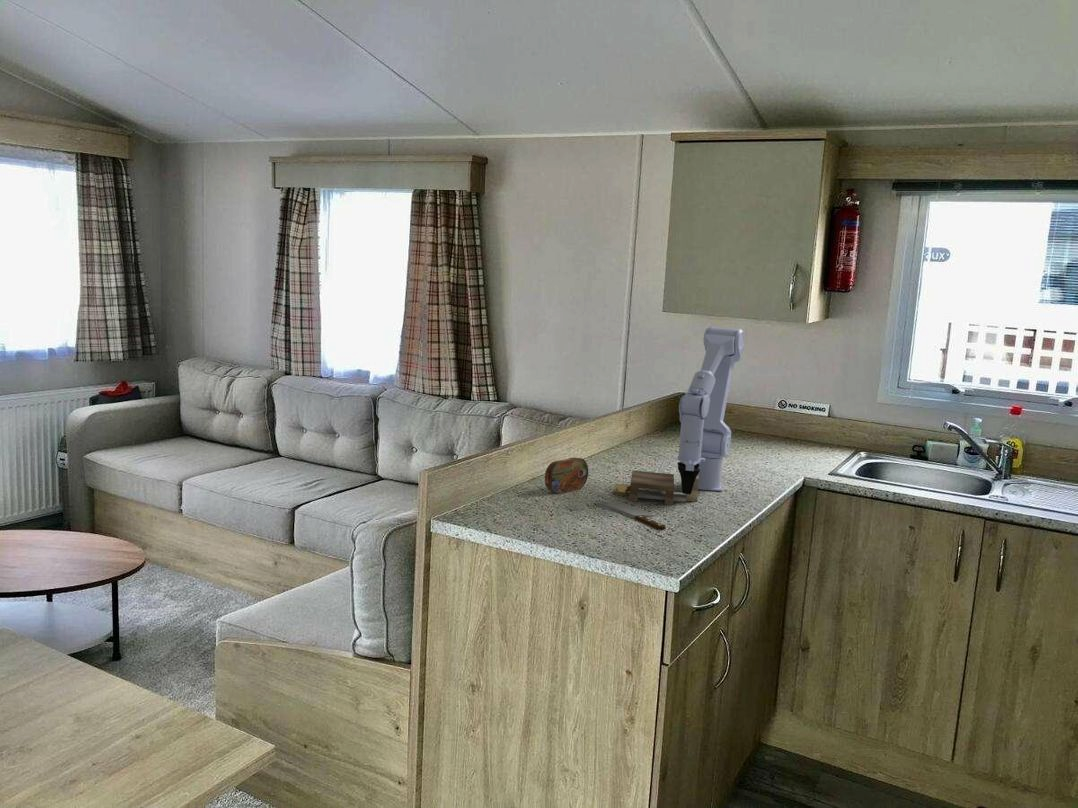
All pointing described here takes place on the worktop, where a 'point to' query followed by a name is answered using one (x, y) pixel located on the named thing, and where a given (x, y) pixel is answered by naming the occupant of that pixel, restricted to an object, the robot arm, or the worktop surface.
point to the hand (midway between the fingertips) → (686, 491)
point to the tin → (566, 475)
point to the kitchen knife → (631, 512)
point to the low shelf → (652, 484)
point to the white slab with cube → (677, 496)
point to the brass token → (622, 489)
